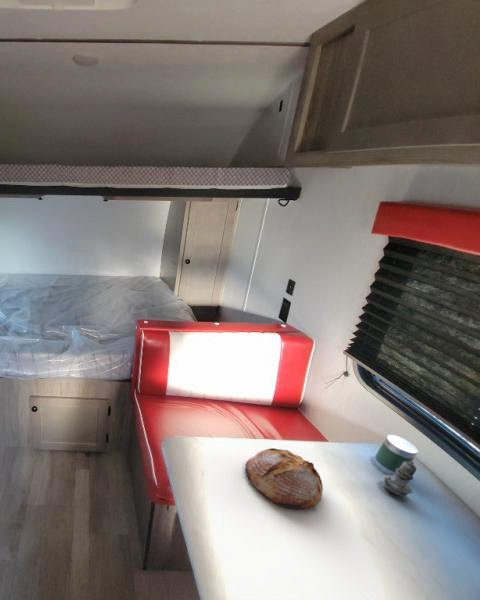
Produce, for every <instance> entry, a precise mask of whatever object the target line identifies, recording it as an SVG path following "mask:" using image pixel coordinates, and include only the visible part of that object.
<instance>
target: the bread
mask: <svg viewBox="0 0 480 600" xmlns="http://www.w3.org/2000/svg"><path fill="white" fill-rule="evenodd" d="M244 470H245V474H246V475H245V476H246V477H248V479H249V481H250V483H251V485H252V486H254V487H255V489H257V490H258V491H259V492H260V493H261V494H262V495H264V496H265V497H266V498H268V500H270V501H272V502H273V503H274V504H276V505H278V506H280V507H284V508H288V509H293V510H307V509H312V508H313V507H315V506H317V504H318V503H320V502H321V500H322V496H323V490H324V488H323V486H324V485H323V481H322V478H321V475H320V474H319V472H318V470H317V469H316V468H315V464H314V463H313V462H309V460H305V459H303V458H302V456H300V455H297V454H294V453H293V452H292V451H289V450H288V449H282V448H273V447H270V448H268V449H264V450H261V451H259V452H257V453H256V454H255V455H254V456H252V457H250V458H249V459H248V460H247V461H246V462H245V468H244Z"/></svg>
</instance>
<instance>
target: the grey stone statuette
mask: <svg viewBox="0 0 480 600" xmlns="http://www.w3.org/2000/svg"><path fill="white" fill-rule="evenodd" d="M396 471H397V472H396V473H395V475H394V476H393V475H388V474H385V475H384V480H383V481H384V484H383V485H382V486H381V488H382V490H383V491H384V492H385V493H386V495H389V496H390V497H391V498H394V499H397V500H403V499H404V497H405V496H408V495H411V494H412V493H413V490H412V488H411V487H410V485H409V483H410V481H413V480H414V475H415V473H416V472H417V467H416V465H415V463H414V461H411V463H410V462H403V463H402V465H401V466H400V468H397V469H396Z"/></svg>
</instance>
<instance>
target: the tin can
mask: <svg viewBox="0 0 480 600" xmlns="http://www.w3.org/2000/svg"><path fill="white" fill-rule="evenodd" d="M418 452H419V450H418V448H417V447H416V446H415V445H414V443H412V442H410V441H409V440H407V439H405V438H403V437H401V436H398V435H394V434H388V435H387V436H386V437H385V439H384V440H383V442H382V444H381V445H380V447H379V449H378V451H377V452H376V453H375V455H374V457H373V459H372V462H373V464H374V466H375V467H376V468H377V469H378V470H380V471H381V472H383V473H384V474H385V475H393V476H394V475H395V473H396V472H397V471H396V469H397V468H400V466H401V465H402V463H403V462H410V463H411V461H413V460H414V459H415V458H416V455H417V454H418ZM413 462H414V461H413Z"/></svg>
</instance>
